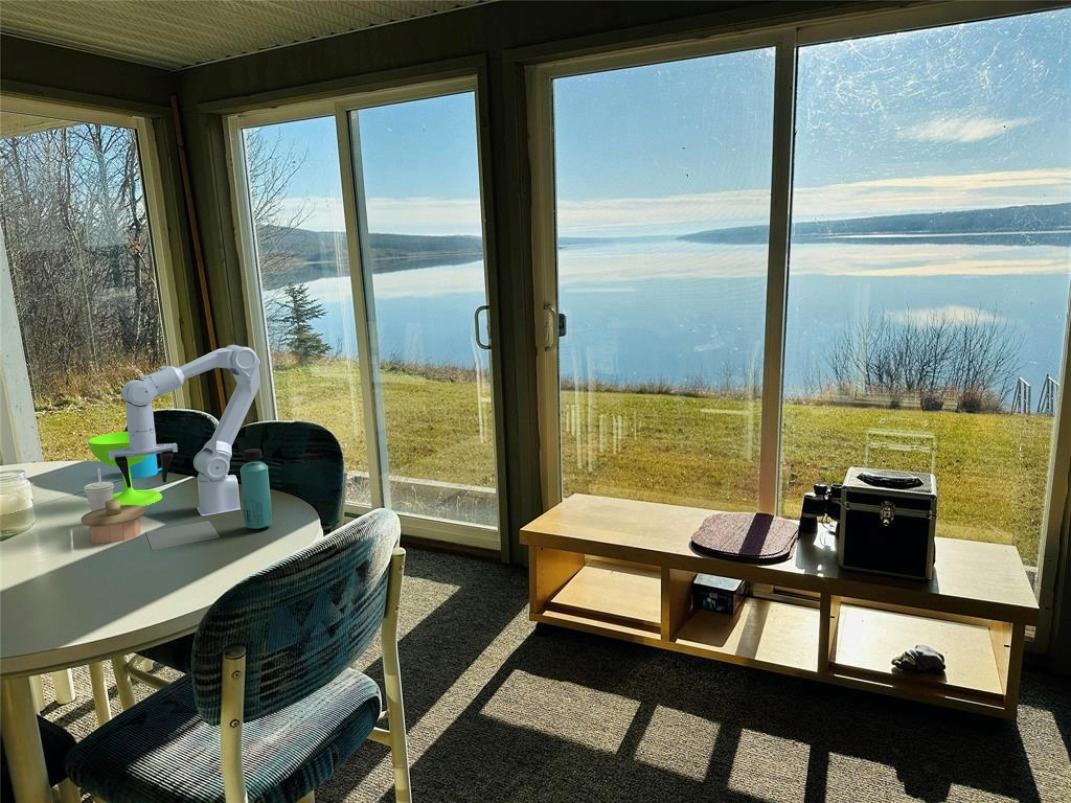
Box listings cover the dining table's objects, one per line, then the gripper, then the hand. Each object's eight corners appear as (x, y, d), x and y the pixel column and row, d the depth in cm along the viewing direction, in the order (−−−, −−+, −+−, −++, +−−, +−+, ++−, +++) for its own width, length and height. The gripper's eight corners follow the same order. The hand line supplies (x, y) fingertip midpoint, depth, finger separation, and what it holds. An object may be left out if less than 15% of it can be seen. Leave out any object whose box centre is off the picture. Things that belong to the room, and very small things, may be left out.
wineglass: (175, 493, 201) (168, 431, 198) (134, 511, 186) (126, 445, 182) (125, 491, 204) (118, 430, 201) (81, 509, 188) (72, 443, 185)
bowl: (138, 526, 174) (136, 507, 173) (142, 538, 166) (140, 518, 165) (90, 535, 169) (88, 515, 168) (92, 548, 161) (89, 527, 160)
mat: (209, 522, 177) (209, 520, 177) (220, 539, 165) (219, 537, 165) (145, 534, 169) (145, 532, 169) (152, 552, 158) (152, 550, 157)
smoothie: (104, 527, 174) (97, 472, 172) (81, 525, 175) (74, 471, 173) (124, 518, 180) (117, 465, 178) (102, 517, 181) (95, 464, 179)
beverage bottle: (279, 526, 173) (273, 447, 169) (261, 536, 167) (254, 453, 163) (257, 524, 175) (251, 445, 172) (238, 533, 169) (231, 451, 165)
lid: (153, 506, 174) (151, 491, 173) (133, 524, 161) (132, 508, 161) (95, 510, 171) (93, 495, 171) (71, 528, 159) (68, 512, 158)
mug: (128, 479, 216) (125, 453, 215) (128, 473, 223) (125, 448, 222) (172, 473, 222) (170, 448, 221) (170, 468, 229) (168, 443, 228)
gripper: (172, 423, 179) (177, 475, 181) (105, 430, 171) (111, 485, 173) (176, 428, 173) (181, 482, 175) (107, 435, 165) (113, 491, 167)
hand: (146, 484), depth 174 cm, fingers open, 7 cm apart
